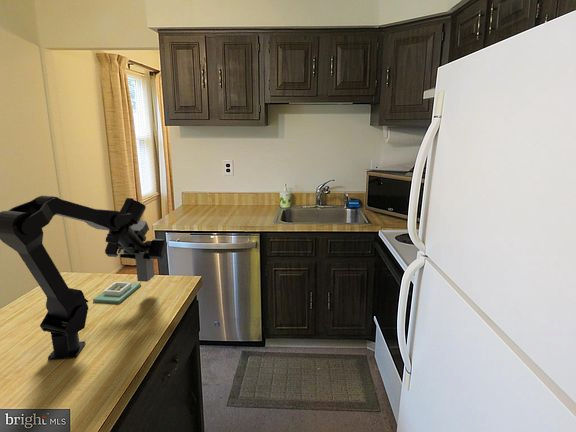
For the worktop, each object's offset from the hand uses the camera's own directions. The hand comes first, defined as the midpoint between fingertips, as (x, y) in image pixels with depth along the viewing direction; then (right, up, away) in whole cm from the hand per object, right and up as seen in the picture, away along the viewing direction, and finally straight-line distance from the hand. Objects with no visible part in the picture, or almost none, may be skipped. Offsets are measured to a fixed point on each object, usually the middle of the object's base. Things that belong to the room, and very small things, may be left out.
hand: (146, 258), depth 121 cm
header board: (-11, -12, +2) cm, 16 cm away
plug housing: (0, -7, 0) cm, 7 cm away
